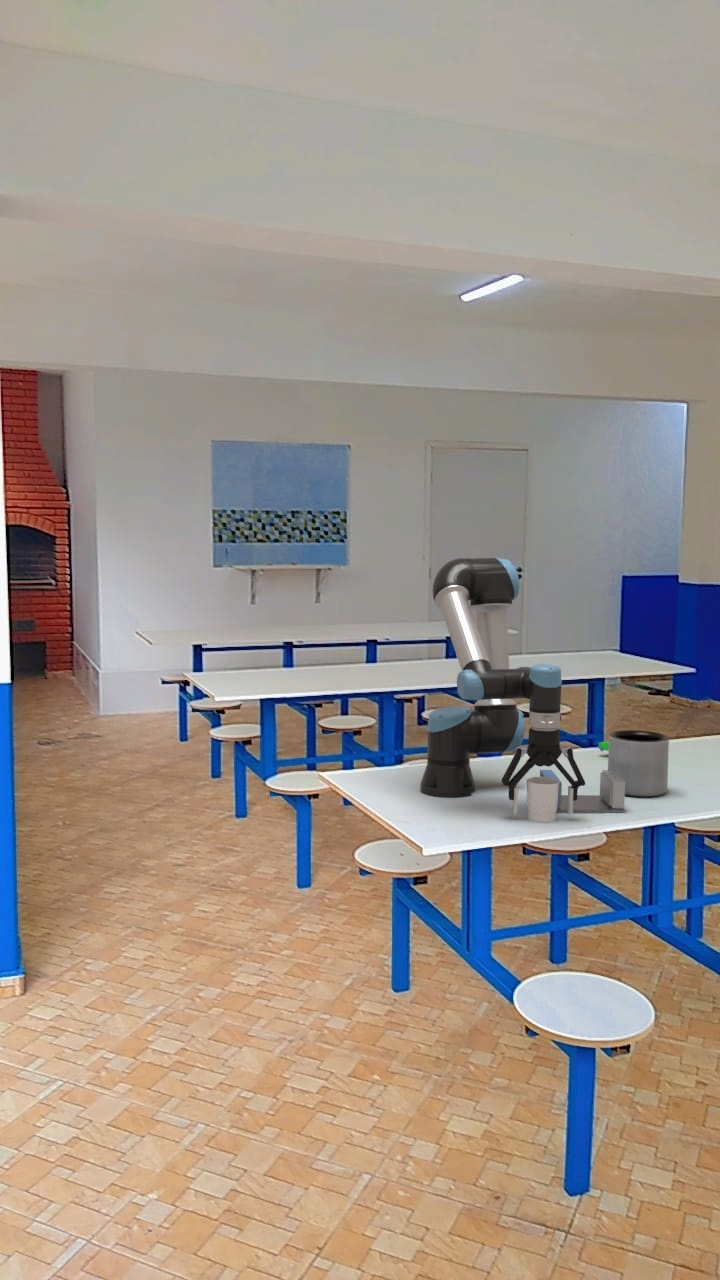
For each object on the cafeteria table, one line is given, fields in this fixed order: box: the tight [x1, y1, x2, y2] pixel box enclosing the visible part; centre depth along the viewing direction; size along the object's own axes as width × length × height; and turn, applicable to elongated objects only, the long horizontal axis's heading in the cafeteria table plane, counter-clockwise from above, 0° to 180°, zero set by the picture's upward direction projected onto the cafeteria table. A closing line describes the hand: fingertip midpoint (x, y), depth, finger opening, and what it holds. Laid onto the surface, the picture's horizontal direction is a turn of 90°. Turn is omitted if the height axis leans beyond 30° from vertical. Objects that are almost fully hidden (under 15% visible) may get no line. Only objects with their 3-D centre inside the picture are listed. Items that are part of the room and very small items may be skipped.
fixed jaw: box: [599, 769, 626, 809], centre depth 261 cm, size 4×12×7 cm, turn 179°
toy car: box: [597, 740, 609, 752], centre depth 326 cm, size 11×7×7 cm, turn 34°
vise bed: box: [556, 794, 626, 815], centre depth 261 cm, size 22×14×1 cm, turn 89°
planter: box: [607, 729, 670, 798], centre depth 276 cm, size 16×16×16 cm
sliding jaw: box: [539, 769, 563, 808], centre depth 261 cm, size 4×12×7 cm, turn 179°
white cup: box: [526, 776, 560, 824], centre depth 248 cm, size 8×8×10 cm
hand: (542, 813), depth 248 cm, fingers open, 13 cm apart
